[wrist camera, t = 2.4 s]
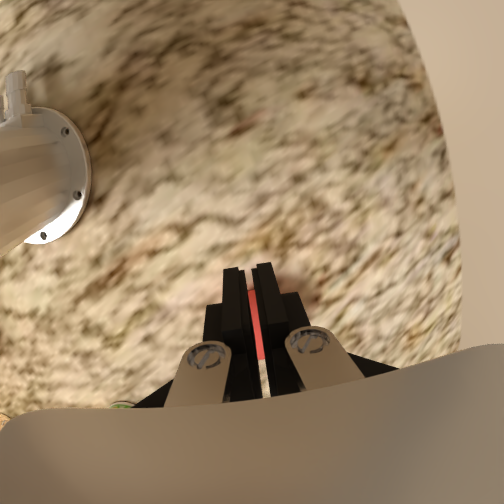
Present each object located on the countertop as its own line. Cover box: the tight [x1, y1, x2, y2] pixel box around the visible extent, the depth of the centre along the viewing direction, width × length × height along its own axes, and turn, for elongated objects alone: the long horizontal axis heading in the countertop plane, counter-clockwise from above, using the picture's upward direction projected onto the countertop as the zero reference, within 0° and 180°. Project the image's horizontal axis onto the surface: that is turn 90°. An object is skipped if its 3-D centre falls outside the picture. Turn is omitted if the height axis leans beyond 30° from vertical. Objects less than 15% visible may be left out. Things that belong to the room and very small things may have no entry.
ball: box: [248, 290, 265, 360], centre depth 27 cm, size 6×6×6 cm
